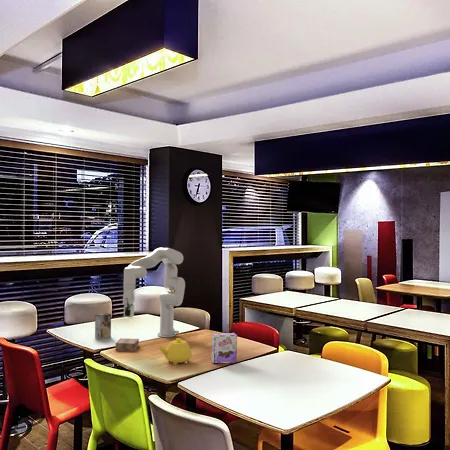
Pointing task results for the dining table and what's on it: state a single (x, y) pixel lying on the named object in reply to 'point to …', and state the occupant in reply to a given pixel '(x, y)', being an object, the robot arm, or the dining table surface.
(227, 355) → the candy box
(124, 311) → the sage block
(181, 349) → the teapot
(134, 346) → the block
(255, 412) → the dining table surface
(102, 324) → the coffee box
